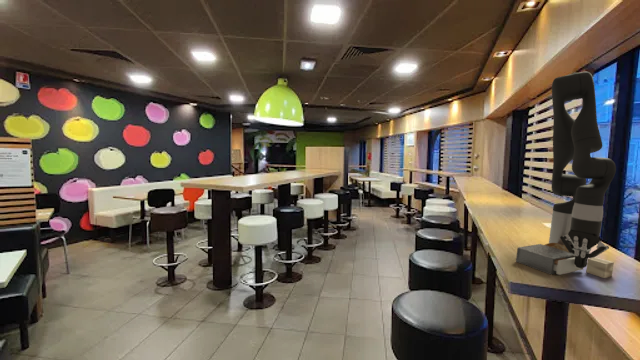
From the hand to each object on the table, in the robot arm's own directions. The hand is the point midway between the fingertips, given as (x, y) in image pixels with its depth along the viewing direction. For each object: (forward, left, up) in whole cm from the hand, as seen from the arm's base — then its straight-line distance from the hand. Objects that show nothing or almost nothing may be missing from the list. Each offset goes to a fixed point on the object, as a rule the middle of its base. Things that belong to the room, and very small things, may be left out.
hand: (579, 267), depth 98 cm
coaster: (0, -7, -1) cm, 7 cm away
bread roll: (-13, -14, -4) cm, 20 cm away
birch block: (-10, +1, -3) cm, 11 cm away
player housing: (0, -10, -3) cm, 11 cm away
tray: (0, -7, -2) cm, 8 cm away
